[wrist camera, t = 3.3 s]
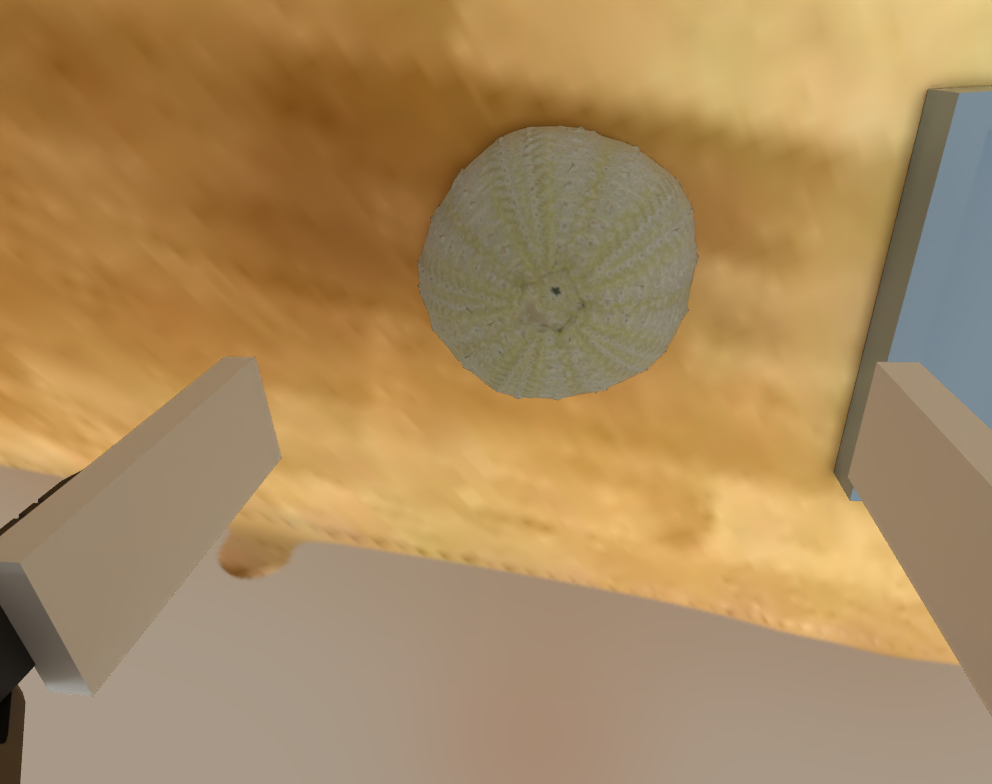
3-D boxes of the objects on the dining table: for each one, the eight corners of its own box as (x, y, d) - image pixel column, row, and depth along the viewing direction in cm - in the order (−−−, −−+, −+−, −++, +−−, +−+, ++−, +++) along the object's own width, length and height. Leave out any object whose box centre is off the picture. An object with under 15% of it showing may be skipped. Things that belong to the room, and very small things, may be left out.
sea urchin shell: (348, 259, 22) (434, 193, 14) (496, 137, 24) (629, 30, 17) (506, 445, 24) (642, 465, 17) (622, 317, 27) (781, 289, 20)
